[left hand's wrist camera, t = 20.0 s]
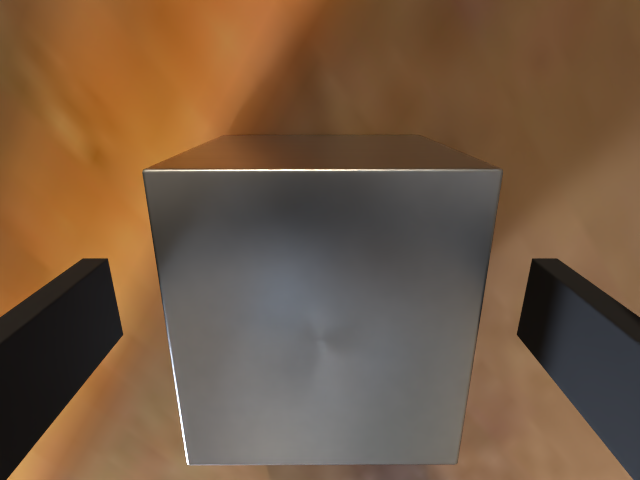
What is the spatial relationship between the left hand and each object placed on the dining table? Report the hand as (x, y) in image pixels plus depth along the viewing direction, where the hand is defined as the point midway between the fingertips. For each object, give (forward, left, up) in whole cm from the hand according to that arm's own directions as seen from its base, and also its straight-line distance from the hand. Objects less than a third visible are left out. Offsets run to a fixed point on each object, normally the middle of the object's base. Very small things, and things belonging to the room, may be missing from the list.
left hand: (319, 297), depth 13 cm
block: (0, 0, -6) cm, 6 cm away
